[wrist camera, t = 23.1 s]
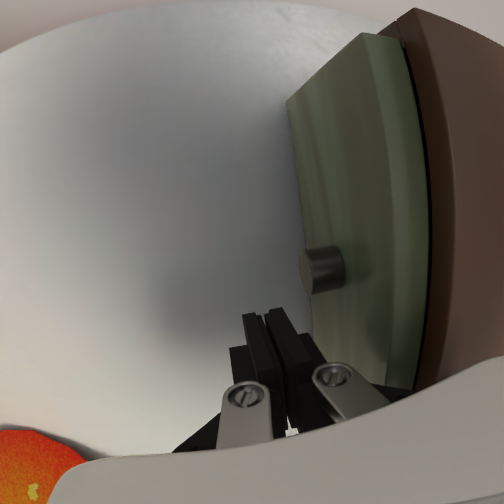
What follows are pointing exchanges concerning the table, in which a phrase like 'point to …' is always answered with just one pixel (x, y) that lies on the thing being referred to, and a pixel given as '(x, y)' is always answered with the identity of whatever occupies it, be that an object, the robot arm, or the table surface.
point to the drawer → (365, 210)
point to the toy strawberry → (32, 466)
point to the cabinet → (460, 188)
